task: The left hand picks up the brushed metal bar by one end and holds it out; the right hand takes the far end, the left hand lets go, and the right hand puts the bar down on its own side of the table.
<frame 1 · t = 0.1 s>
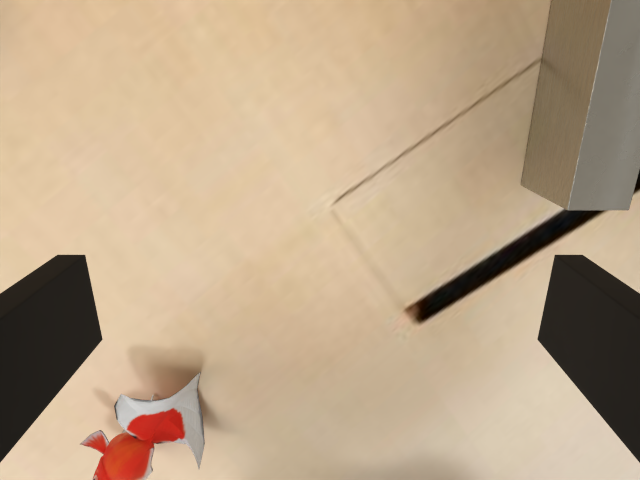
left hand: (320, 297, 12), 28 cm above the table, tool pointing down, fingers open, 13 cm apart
fish: (160, 403, 48), on the table
bar: (574, 33, 35), on the table
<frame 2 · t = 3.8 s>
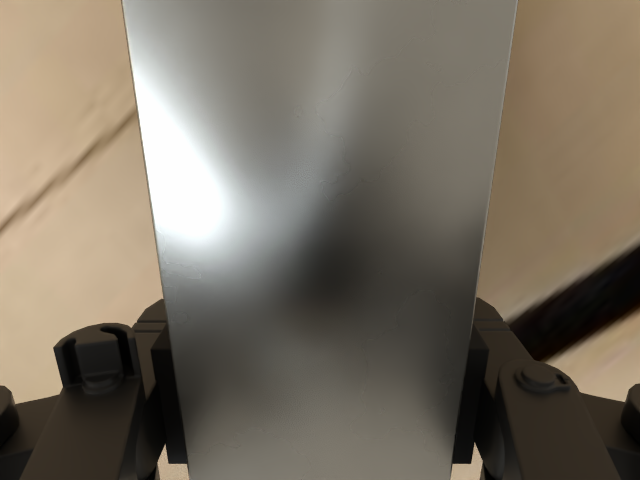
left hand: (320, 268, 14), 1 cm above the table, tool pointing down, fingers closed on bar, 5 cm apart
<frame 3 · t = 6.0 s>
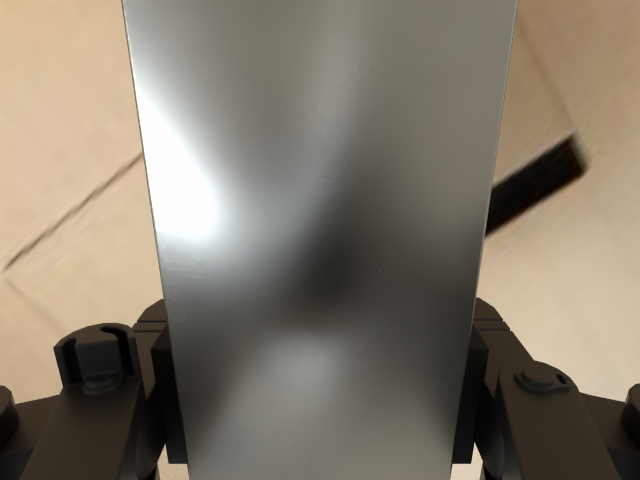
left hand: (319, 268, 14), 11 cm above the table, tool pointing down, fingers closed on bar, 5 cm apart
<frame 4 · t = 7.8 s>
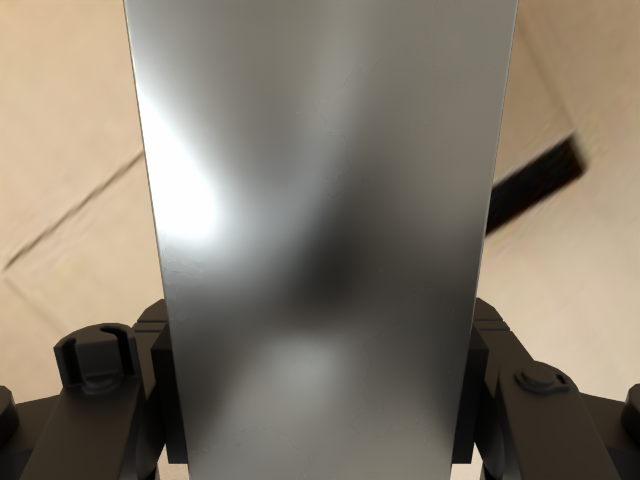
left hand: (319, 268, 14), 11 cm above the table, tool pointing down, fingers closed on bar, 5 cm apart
when the left hand's fingers open (11 cm above the table, at t = 8.5 s): bar stays where it is, held by the right hand.
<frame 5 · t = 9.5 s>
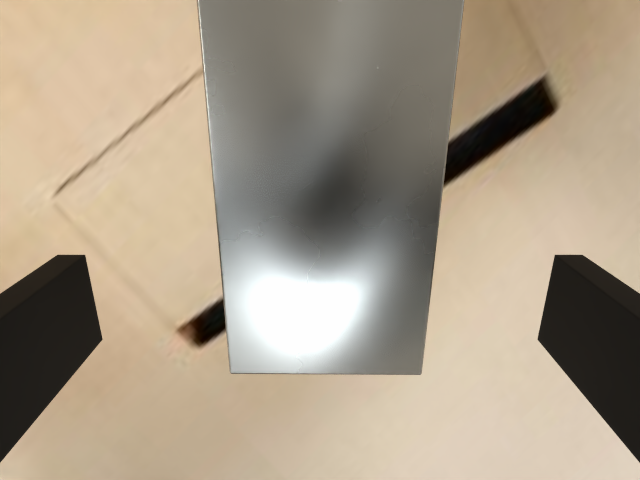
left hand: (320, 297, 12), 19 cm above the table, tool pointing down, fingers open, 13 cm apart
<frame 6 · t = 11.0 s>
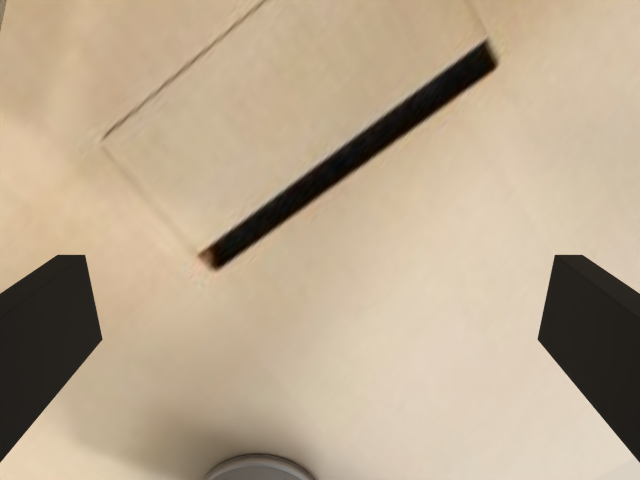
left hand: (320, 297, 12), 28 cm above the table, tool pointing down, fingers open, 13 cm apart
when the right hand's fingers open (5 cm above the table, at t = 14.2 s): bar drops 1 cm, on the table.
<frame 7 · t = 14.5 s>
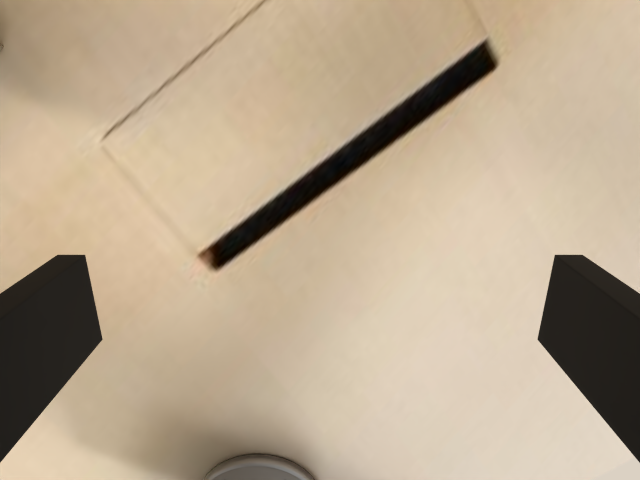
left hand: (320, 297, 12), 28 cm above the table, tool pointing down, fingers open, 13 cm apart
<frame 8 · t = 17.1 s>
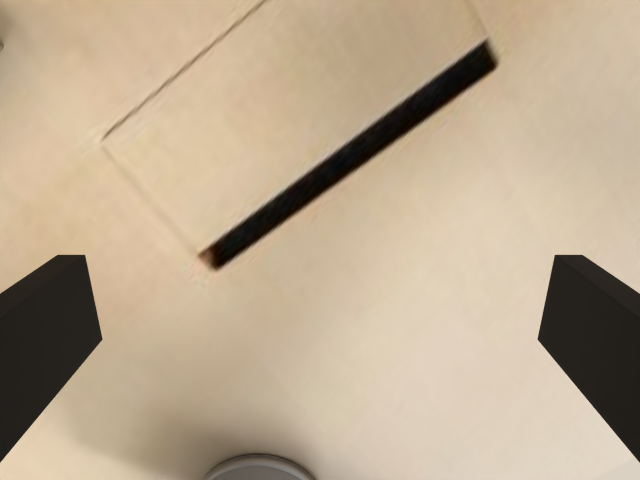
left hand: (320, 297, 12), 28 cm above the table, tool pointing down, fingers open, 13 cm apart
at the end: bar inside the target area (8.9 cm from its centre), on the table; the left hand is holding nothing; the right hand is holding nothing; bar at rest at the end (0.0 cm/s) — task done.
